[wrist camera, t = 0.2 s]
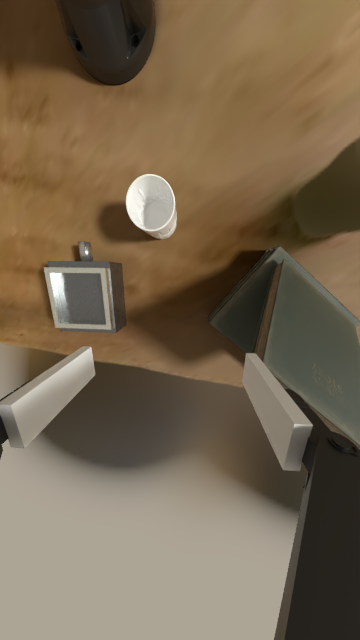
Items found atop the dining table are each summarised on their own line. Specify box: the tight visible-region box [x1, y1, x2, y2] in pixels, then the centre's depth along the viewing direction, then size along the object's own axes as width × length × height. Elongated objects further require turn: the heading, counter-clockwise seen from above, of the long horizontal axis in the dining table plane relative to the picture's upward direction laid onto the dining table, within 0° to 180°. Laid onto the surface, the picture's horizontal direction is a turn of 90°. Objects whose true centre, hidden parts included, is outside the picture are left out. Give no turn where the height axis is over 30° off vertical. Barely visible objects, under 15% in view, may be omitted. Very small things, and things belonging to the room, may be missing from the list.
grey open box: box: [44, 241, 126, 333], centre depth 37 cm, size 19×13×8 cm
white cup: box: [126, 174, 177, 239], centre depth 31 cm, size 8×8×10 cm
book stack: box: [207, 246, 360, 450], centre depth 28 cm, size 23×20×25 cm
